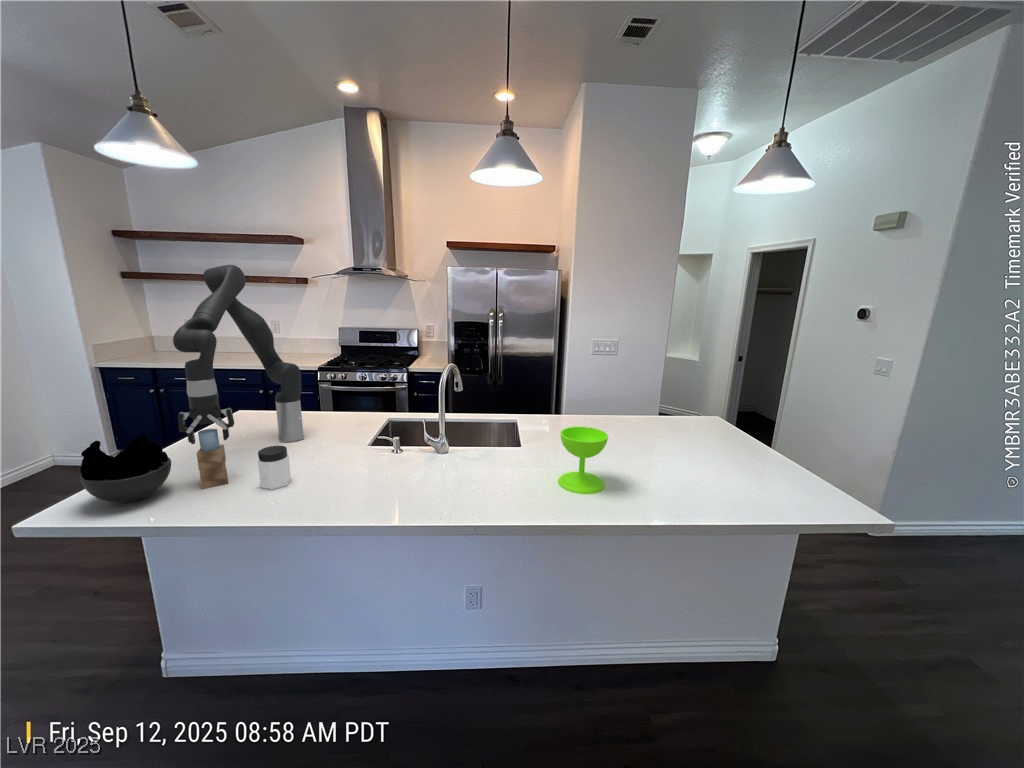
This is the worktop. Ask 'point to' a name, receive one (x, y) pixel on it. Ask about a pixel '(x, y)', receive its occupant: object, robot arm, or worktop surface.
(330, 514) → the worktop surface
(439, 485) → the worktop surface
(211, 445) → the blue grey cylinder
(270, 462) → the jar
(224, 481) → the tower base
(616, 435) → the worktop surface
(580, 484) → the wineglass
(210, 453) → the tower mid
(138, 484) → the coal bowl
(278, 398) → the robot arm
